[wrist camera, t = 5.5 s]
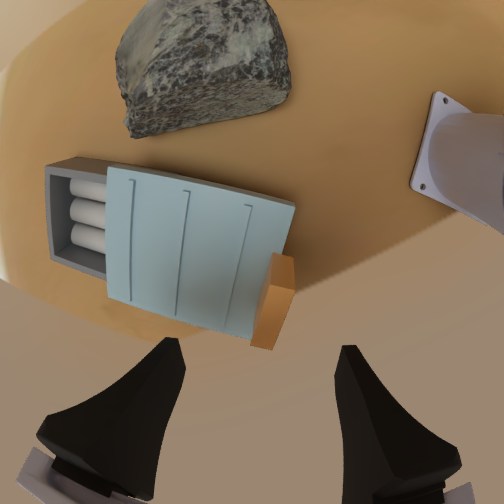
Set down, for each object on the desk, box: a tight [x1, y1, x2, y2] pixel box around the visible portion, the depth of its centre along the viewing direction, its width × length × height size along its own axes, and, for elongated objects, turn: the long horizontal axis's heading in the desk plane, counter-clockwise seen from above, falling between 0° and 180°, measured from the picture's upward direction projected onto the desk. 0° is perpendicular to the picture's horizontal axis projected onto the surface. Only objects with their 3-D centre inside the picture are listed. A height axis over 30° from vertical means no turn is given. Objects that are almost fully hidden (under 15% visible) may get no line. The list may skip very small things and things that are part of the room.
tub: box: [45, 157, 181, 281], centre depth 19 cm, size 10×8×4 cm
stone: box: [115, 0, 292, 139], centre depth 13 cm, size 10×10×10 cm
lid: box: [105, 164, 296, 350], centre depth 15 cm, size 12×10×4 cm
